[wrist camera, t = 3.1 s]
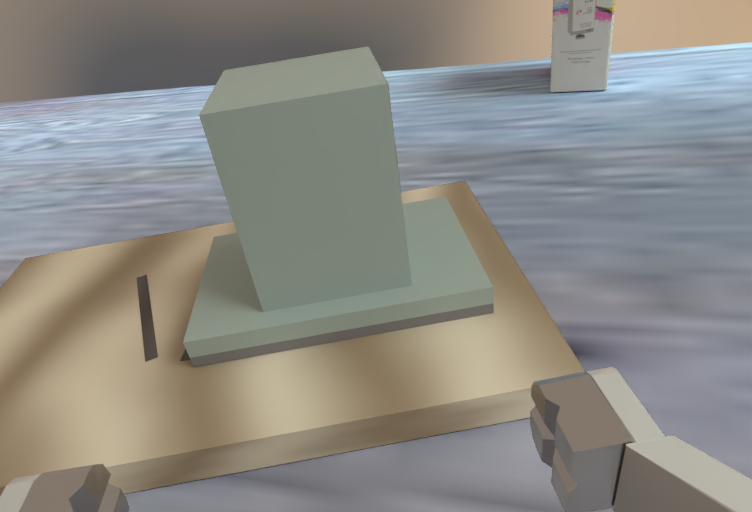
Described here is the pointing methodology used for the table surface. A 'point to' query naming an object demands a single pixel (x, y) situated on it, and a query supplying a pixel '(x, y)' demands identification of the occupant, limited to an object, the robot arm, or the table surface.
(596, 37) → the ink cartridge box
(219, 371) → the birch board
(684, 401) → the table surface
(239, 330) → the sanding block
